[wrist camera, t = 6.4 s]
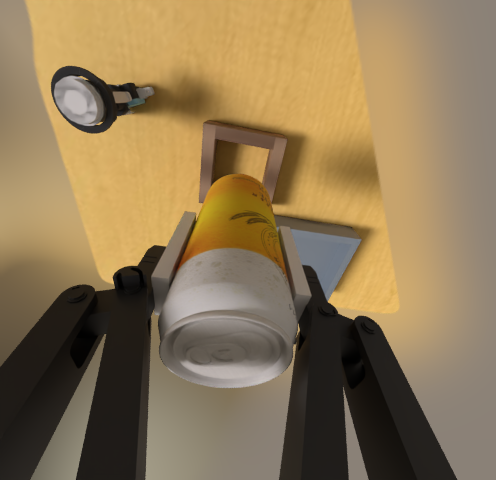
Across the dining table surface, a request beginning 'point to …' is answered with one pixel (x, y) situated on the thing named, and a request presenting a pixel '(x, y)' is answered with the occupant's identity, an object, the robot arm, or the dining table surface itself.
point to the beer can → (230, 293)
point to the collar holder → (242, 136)
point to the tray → (322, 248)
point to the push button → (93, 99)
